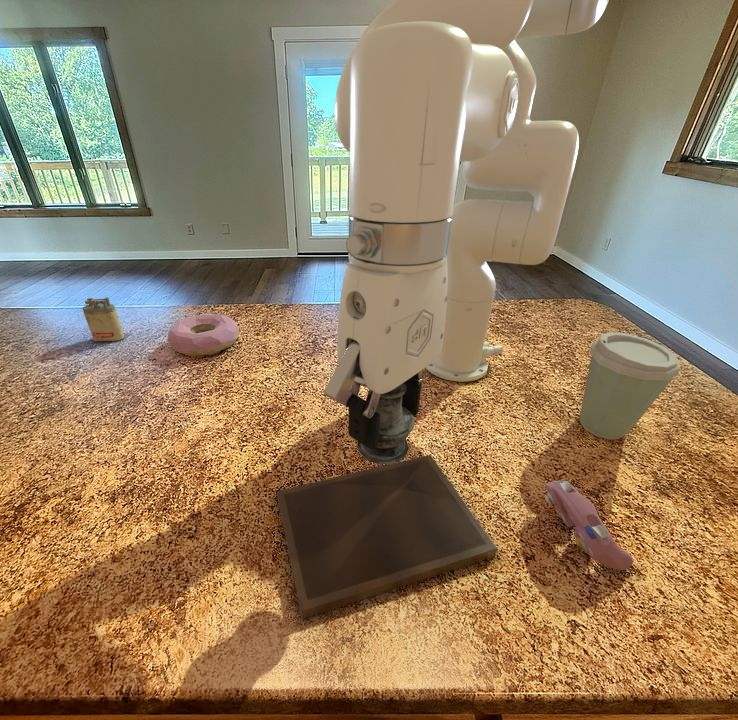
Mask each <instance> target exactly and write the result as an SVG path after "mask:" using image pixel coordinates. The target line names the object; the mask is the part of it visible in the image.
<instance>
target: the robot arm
mask: <svg viewBox="0 0 738 720" xmlns="http://www.w3.org/2000/svg"><path fill="white" fill-rule="evenodd" d="M609 1H610V0H395V1H394V2H392V4H390V5H388V6H387V7H386V8H385V9H384V10H382V11H381V12H380V13H378V14H377V16H375V18H373V20H372V21H371V22H370V23H369V24H368V26H366V27H365V29H364V31H363V33H362V34H361V36H360V37H359V39H358V41H357V43H356V44H355V46H354V48H353V49H352V51H351V52H350V54H349V57H348V58H347V61H346V62H345V65H344V67H343V69H342V71H341V74H340V77H339V80H338V84H337V88H336V92H335V100H334V124H335V129H336V134H337V136H338V138H339V141H340V143H341V144H342V147H343V148H345V150H346V151H347V152H348V153H349V177H348V179H349V181H348V182H349V183H348V184H349V186H348V188H349V189H348V192H349V193H348V237H347V239H346V241H345V247H346V250H347V254H348V257H347V258H348V262H347V263H346V264H345V269H344V274H343V279H342V286H341V291H340V299H339V308H338V309H339V310H338V321H337V341H336V343H337V345H336V349H337V352H336V353H337V355H336V356H337V357H336V358H337V366H336V368H335V370H334V372H333V373H332V376H331V377H330V379H329V381H328V383H327V384H326V387H325V388H324V396H325V397H327V398H329V399H331V400H333V401H335V402H337V403H338V404H340V405H342V406H344V407H347V408H348V435H349V437H350V438H352V439H353V440H355V441H356V442H357V441H358V442H360V443H361V444H363V445H365V446H366V447H368V448H370V449H371V450H374V449H375V448H377V447H378V441H379V426H380V414H379V413H378V412H376V408H377V405H378V401H379V398H380V395H381V394H384V393H387V392H389V391H391V390H393V389H395V388H396V387H398V386H399V385H401V384H402V383H405V385H406V388H407V389H406V392H405V393H404V394H403V396H402V406H403V407H405V408H407V409H408V410H409V411H410V412H411V413H412V415H413V417H416V416H417V415H418V414H419V412H420V411H419V410H420V402H421V395H422V387H423V383H422V381H423V380H424V379H425V378H426V375H427V372H429V373H430V374H432V375H434V376H435V377H438V378H440V379H443V380H446V381H451V382H456V383H457V382H458V383H464V382H465V383H468V382H473V381H478V380H480V379H482V378H483V377H484V376H486V374H487V372H488V369H489V363H488V362H487V360H486V359H489V358H490V356H498V355H502V354H503V352H504V349H503V346H502V345H500V344H497V345H491V346H490V343H489V342H488V341H486V338H487V333H488V328H489V323H490V318H491V315H492V310H493V304H494V300H495V295H496V292H497V291H496V290H497V283H496V279H495V275H494V274H493V273H494V272H493V271H492V269H491V268H490V266H489V264H488V263H487V262H495V263H496V262H497V263H504V264H514V265H524V266H536V265H540V264H542V263H544V262H546V260H547V259H548V258H549V256H550V255H551V253H552V250H553V249H554V246H555V243H556V240H557V237H558V233H559V229H560V226H561V221H562V217H563V213H564V209H565V206H566V202H567V198H568V194H569V190H570V186H571V183H572V179H573V175H574V171H575V167H576V161H577V157H578V152H579V146H580V145H579V143H580V139H579V138H580V137H579V131H578V129H577V127H576V126H575V125H574V124H573V123H571V122H569V121H566V120H557V119H556V120H555V119H554V120H531V112H532V107H533V103H534V102H533V101H534V98H535V93H536V88H537V75H536V73H535V70H534V68H533V66H532V64H531V62H530V60H529V58H528V56H527V55H526V54H525V52H524V51H523V50H522V48H521V47H520V46H519V44H518V43H517V41H518V40H530V39H538V38H547V37H557V36H567V35H573V34H579V33H582V32H585V31H587V30H589V29H591V28H592V27H593V26H594V25H595V24H596V23H597V22H598V21H599V20H600V18H601V17H602V15H603V14H604V12H605V10H606V8H607V6H608V3H609ZM460 163H462V179H463V183H465V185H466V186H467V187H468V188H471V189H476V190H481V191H492V192H493V191H495V192H496V191H497V192H517V193H518V192H519V193H521V192H522V193H529V194H530V195H531V196H533V201H520V200H519V201H518V200H505V199H490V198H489V199H488V198H487V199H486V198H484V199H483V198H471V199H470V198H469V199H465V200H461V201H458V202H457V203H455V198H456V193H457V192H456V191H457V184H458V176H459V171H460ZM361 386H362V387H363V386H364V387H365V388H367V390H368V389H369V390H368V391H367V395H366V397H365V399H364V398H362V397H361V396H359V392H360V389H361Z"/></svg>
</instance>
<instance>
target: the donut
mask: <svg viewBox="0 0 738 720" xmlns="http://www.w3.org/2000/svg"><path fill="white" fill-rule="evenodd" d="M238 338H239V327H238V325H237V323H236V321H235V320H234V319H233V318H231V317H229V315H223V314H215V313H208V312H207V313H203V314H202V313H201V314H196V315H192V316H188V317H184V318H182V319H181V320H179V321H178V322H176V323H175V324H173V325H172V327H171V328H170V329H169V330H168V331H167V341H166V342H168V343H169V346H170V347H171V348H172V350H174V351H175V352H177V353H179V354H182V355H186V356H190V357H196V356H197V357H199V356H213V355H215V354H217V353H219V352H221V351H224V350H226V349H227V348H230V347H231V346H232V345H233V344H234V343H235V342H236V341H237V340H238Z"/></svg>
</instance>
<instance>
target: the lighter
mask: <svg viewBox="0 0 738 720" xmlns="http://www.w3.org/2000/svg"><path fill="white" fill-rule="evenodd" d="M84 304H85V306H84V305H83V307H82V311H83V316H84V318H85V320H86V324H87V327H88V329H89V331H90V334H91V336H92V340H93V341H94V342H117V341H120V340H123V339H125V337H126V335H125V333H124V330H123V326H122V324H121V321H120V318H119V314H118V311H117V309H116V307H115V305H114V304H112V303H110V298H109V297H104V298H93V297H90V298H86V300H85V301H84Z"/></svg>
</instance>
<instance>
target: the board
mask: <svg viewBox="0 0 738 720" xmlns="http://www.w3.org/2000/svg"><path fill="white" fill-rule="evenodd" d="M276 497H277V503H278V507H279V511H280V517H281V522H282V527H283V533H284V537H285V538H284V539H285V542H286V548H287V552H288V557H289V561H290V562H289V563H290V566H291V572H292V577H293V582H294V586H295V592H296V598H297V602H298V607H299V611H300V617H301V619H302V620H304V619H308V618H311V617H314V616H317V615H320V614H323V613H326V612H328V611H332V610H335V609H338V608H341V607H344V606H347V605H351V604H354V603H356V602H360V601H363V600H365V599H368V598H372V597H375V596H378V595H382V594H384V593H387V592H391V591H393V590H397V589H400V588H402V587H406V586H409V585H412V584H415V583H418V582H421V581H425V580H428V579H430V578H433V577H436V576H440V575H443V574H446V573H449V572H452V571H456V570H459V569H461V568H464V567H467V566H471V565H473V564H477V563H480V562H483V561H486V560H489V559H492V558H495V557H496V555H497V551H498V547H497V545H495V543H494V542H493V540H492V539H491V537H490V536H489V535H488V532H487V531H486V530H485V529H484V528H483V525H482V524H481V523H480V521H478V519H477V518H476V516H475V515H474V513H473V512H472V511H471V509H470V508H469V506H468V505H467V504H466V502H465V501H464V500H463V498H462V497H461V496H460V494H459V493H458V491H457V490H456V488H455V487H454V486H453V484H452V483H451V481H450V480H449V479H448V477H447V476H446V475H445V473H444V472H443V470H442V469H441V468H440V466H439V465H438V463H437V462H436V461H435V459H434V457H433V456H432V455H431V454H427V455H424V456H419V457H415V458H411V459H407V460H401V461H399V462H397V463H394V464H387V465H386V464H384V465H381V466H378V467H372V468H368V469H364V470H360V471H356V472H352V473H348V474H344V475H340V476H335V477H331V478H327V479H323V480H322V479H321V480H319V481H314V482H310V483H306V484H302V485H301V484H300V485H297V486H293V487H289V488H284V489H281V490H276Z"/></svg>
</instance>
